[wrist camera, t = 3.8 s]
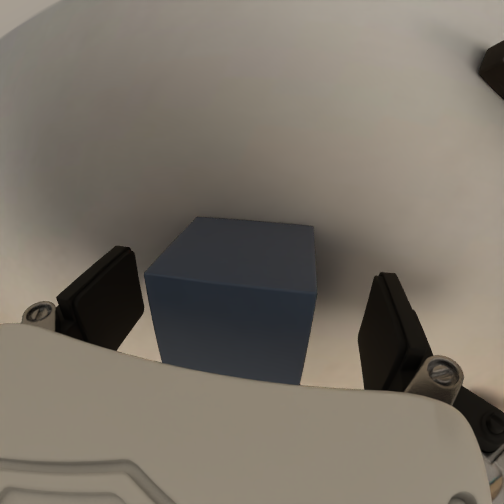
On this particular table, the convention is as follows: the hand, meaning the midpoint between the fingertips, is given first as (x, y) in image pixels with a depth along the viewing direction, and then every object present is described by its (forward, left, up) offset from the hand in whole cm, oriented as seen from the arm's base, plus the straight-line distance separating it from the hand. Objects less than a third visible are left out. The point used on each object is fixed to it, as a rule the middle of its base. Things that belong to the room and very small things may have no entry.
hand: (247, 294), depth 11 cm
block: (0, 0, -1) cm, 1 cm away
